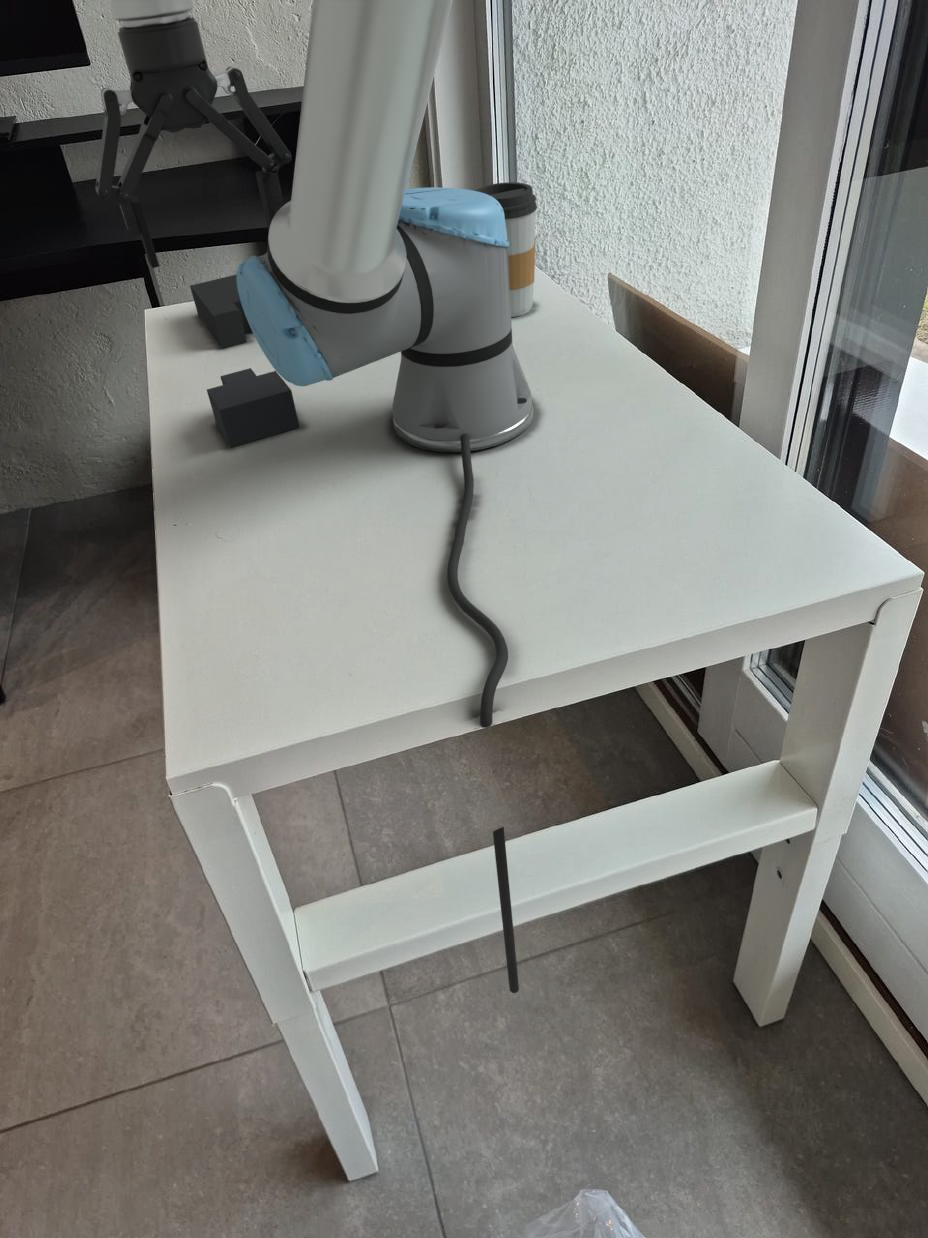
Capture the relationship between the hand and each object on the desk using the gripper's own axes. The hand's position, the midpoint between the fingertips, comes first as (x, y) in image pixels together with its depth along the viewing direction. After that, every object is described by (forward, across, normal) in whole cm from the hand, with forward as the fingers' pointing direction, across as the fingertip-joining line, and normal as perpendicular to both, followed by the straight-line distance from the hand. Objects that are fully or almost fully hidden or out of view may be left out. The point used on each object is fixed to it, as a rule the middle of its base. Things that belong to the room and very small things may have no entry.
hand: (216, 250), depth 99 cm
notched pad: (+16, -6, -22) cm, 28 cm away
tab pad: (+16, +2, +9) cm, 19 cm away
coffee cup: (+17, -37, -4) cm, 41 cm away
